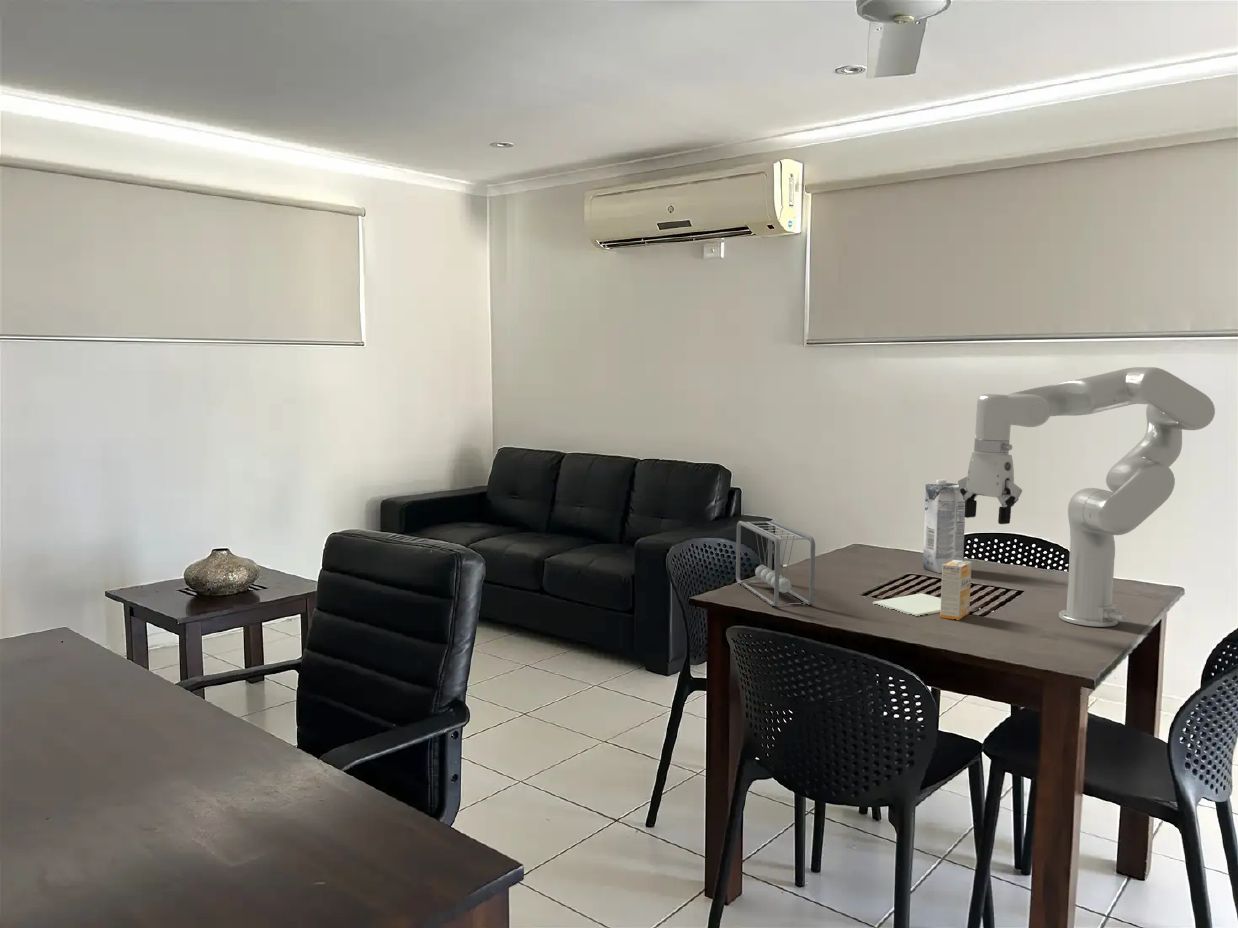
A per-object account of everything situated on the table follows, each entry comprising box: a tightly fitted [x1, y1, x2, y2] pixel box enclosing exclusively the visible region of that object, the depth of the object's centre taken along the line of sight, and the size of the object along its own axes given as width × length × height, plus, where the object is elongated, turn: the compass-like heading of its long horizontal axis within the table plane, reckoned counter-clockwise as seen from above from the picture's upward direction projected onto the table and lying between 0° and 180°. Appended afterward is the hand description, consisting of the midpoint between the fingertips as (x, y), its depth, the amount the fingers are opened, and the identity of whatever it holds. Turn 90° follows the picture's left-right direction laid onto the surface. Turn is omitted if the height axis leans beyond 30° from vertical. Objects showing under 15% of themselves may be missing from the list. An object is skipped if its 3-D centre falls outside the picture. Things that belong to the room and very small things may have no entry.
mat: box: [872, 592, 941, 617], centre depth 234 cm, size 14×18×1 cm
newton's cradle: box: [735, 519, 816, 607], centre depth 244 cm, size 30×10×18 cm, turn 12°
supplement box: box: [939, 560, 973, 621], centre depth 224 cm, size 8×5×13 cm, turn 143°
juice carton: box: [922, 479, 966, 574], centre depth 274 cm, size 9×10×27 cm
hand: (986, 520), depth 216 cm, fingers open, 9 cm apart
